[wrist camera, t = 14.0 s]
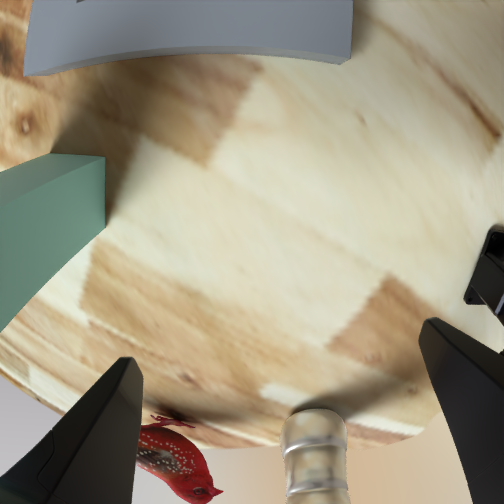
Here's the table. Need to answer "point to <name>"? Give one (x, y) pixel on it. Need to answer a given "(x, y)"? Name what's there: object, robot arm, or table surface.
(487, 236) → the robot arm
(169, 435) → the decorative bird figurine
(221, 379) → the table surface
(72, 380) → the table surface
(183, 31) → the collar board
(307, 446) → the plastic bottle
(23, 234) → the teal peg
